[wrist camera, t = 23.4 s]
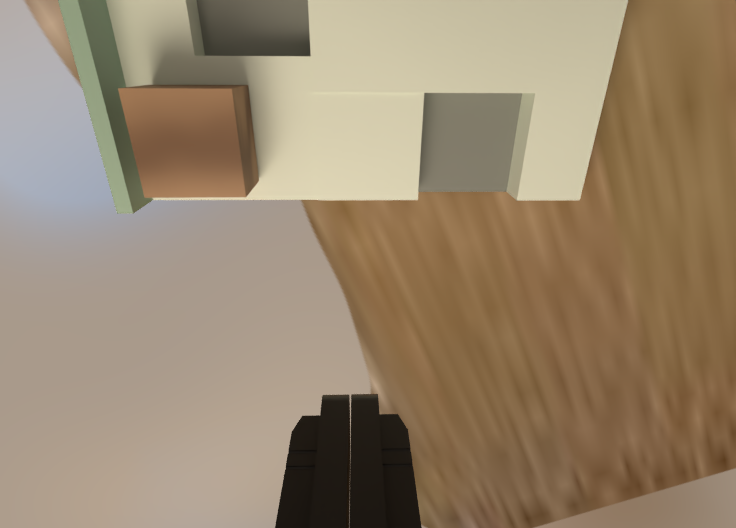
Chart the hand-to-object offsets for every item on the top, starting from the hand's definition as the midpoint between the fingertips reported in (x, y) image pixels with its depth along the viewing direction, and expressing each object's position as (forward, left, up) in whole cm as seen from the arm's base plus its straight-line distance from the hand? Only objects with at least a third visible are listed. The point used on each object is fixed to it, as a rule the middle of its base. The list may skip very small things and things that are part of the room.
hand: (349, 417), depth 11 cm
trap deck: (-8, +1, -22) cm, 23 cm away
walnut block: (-4, -9, -20) cm, 22 cm away
